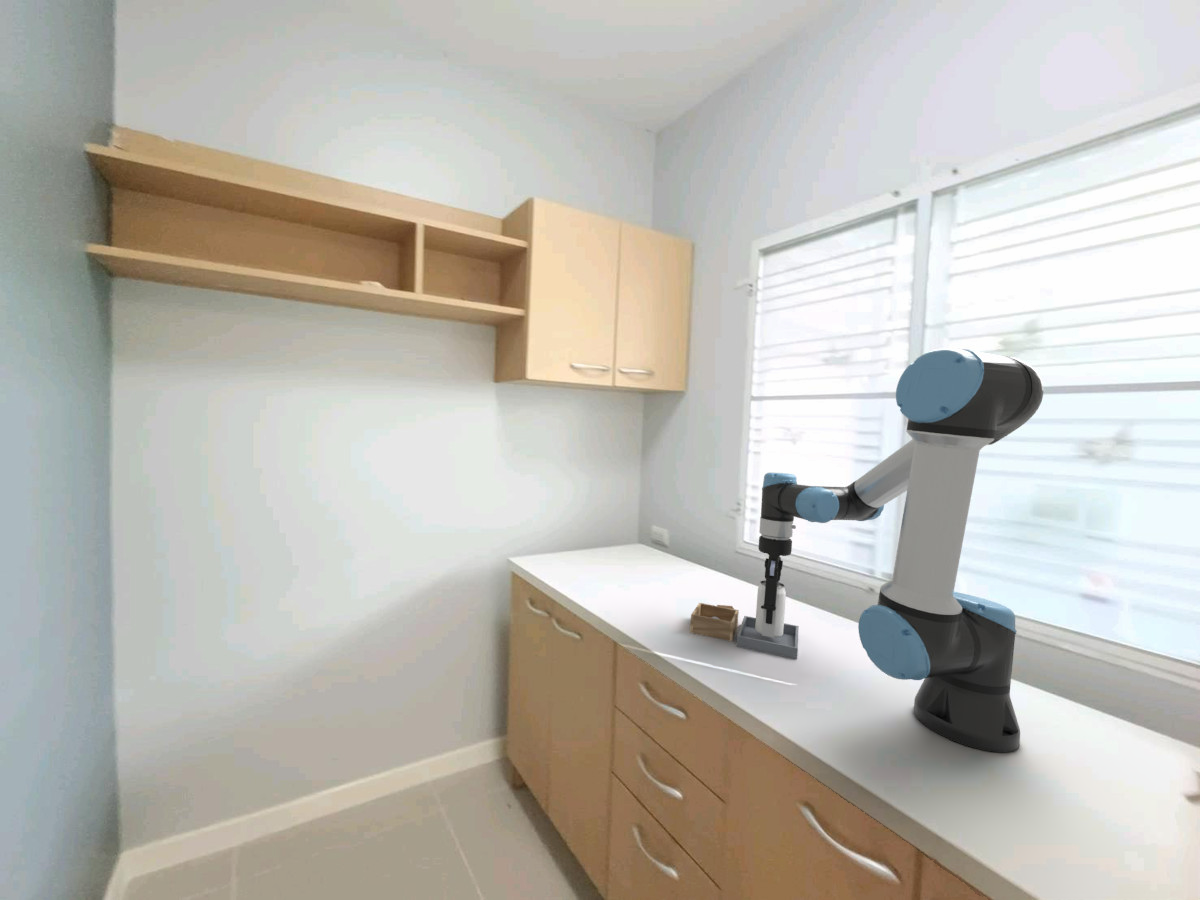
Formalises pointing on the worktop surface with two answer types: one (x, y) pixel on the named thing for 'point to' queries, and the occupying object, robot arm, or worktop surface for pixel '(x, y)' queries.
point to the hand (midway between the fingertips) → (769, 630)
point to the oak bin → (714, 621)
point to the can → (779, 609)
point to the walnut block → (726, 606)
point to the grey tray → (768, 639)
